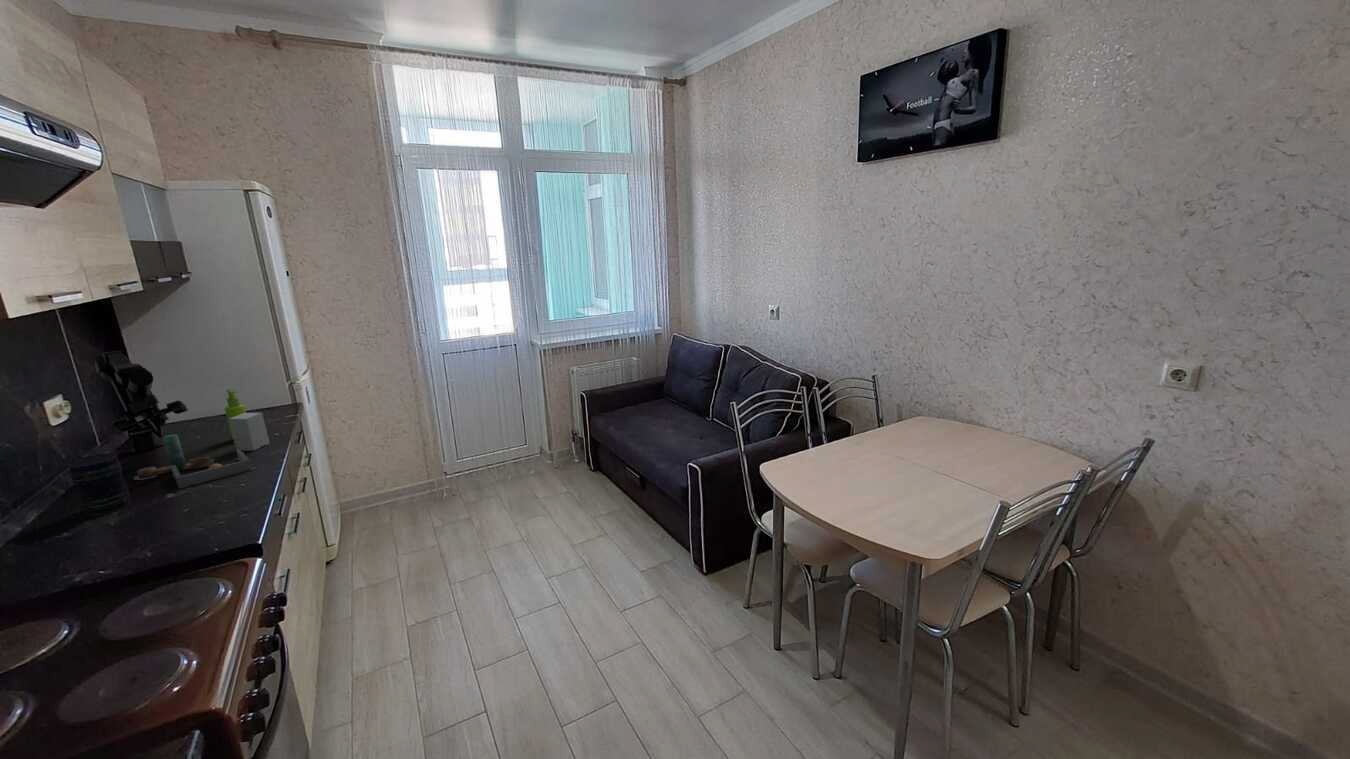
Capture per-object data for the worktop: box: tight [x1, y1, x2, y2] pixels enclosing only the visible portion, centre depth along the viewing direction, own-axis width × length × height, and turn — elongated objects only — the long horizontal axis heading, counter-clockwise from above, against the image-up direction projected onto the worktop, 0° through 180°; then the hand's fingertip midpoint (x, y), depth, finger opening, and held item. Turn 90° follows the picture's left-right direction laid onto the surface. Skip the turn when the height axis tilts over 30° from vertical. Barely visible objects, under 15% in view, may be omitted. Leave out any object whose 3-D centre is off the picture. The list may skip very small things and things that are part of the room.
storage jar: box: [67, 452, 132, 516], centre depth 155 cm, size 10×10×15 cm
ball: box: [207, 463, 223, 469], centre depth 176 cm, size 4×4×4 cm
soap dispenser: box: [224, 388, 247, 440], centre depth 207 cm, size 6×7×20 cm
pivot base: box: [133, 474, 161, 481], centre depth 177 cm, size 7×7×1 cm
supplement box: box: [227, 412, 270, 452], centre depth 199 cm, size 7×7×13 cm
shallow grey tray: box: [170, 450, 253, 489], centre depth 178 cm, size 15×18×4 cm
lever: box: [136, 433, 215, 478], centre depth 179 cm, size 19×4×12 cm, turn 120°
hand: (160, 437), depth 186 cm, fingers closed
